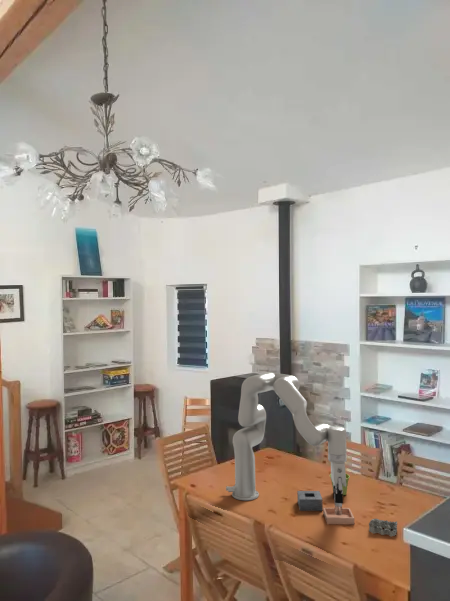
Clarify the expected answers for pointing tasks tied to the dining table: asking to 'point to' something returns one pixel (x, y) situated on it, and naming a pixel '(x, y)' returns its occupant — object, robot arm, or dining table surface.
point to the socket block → (310, 501)
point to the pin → (337, 505)
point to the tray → (338, 516)
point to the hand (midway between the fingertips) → (338, 500)
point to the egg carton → (377, 526)
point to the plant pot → (342, 484)
